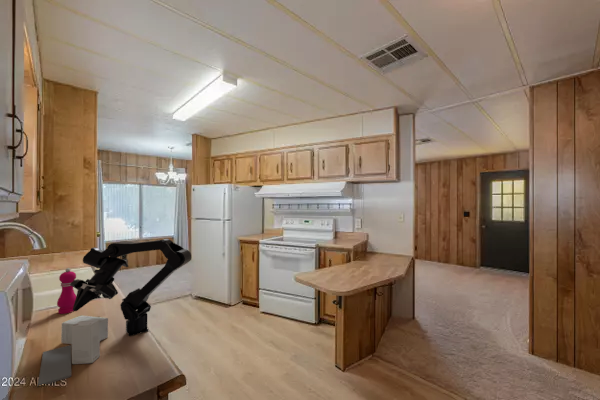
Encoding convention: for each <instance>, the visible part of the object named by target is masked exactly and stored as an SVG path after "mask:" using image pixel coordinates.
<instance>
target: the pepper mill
mask: <svg viewBox="0 0 600 400" xmlns="http://www.w3.org/2000/svg"><path fill="white" fill-rule="evenodd" d="M76 278H77V274H76V272H75V271H72V270H71V268H69V267H68V268H66V269H65V271H64V272H62V273H61V274H60V275H59V277H58V279H59V281H60V287H61V293H60V295H59V297H58V299H57V302H56V306H57V307H58V310H57V311H58V312H57V313H58V314H60V315H65V314H70V313H73V312H74V311H73V306H74V303H75V300H76V296H77V293H75V290H74V287H72V286H71V285H70V284H71V283H72V282H73V280H77V279H76Z"/></svg>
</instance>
